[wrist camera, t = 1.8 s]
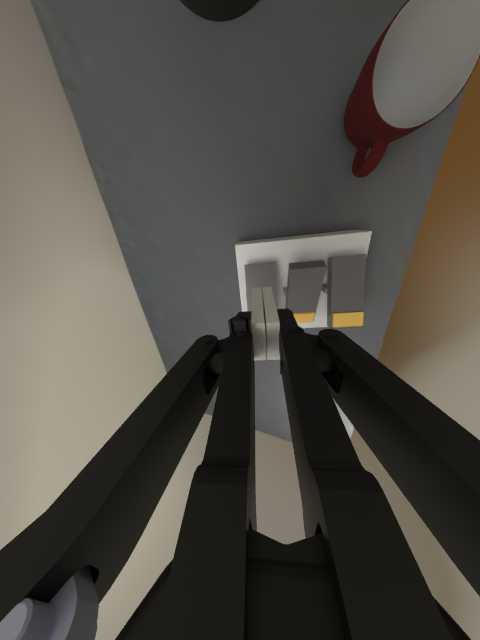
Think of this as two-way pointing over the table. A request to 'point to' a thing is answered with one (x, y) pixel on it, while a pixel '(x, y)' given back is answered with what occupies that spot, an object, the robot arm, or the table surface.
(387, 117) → the mug
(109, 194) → the table surface
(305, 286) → the rocker
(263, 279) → the rocker
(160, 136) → the table surface
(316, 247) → the switch unit
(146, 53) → the table surface
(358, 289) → the rocker
